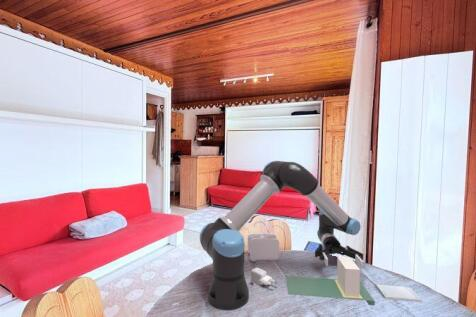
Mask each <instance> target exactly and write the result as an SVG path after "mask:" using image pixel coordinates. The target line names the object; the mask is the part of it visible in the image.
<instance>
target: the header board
mask: <svg viewBox="0 0 476 317" xmlns="http://www.w3.org/2000/svg"><path fill="white" fill-rule="evenodd" d="M285 282H286V288H287V289H286V290H287V294H288V295H294V296H303V297H304V296H306V297H316V298H317V297H319V298H332V299H342V300H343V299H344V300H354V301H355V300H356V301H357V300H358V301H365V302H366V303H367V305H370V306H375V303H376V301H375V299H374V298H373V296H372V295H371V293H370V292H369V291H368V290H367V288H366V287H365V285H364V283H363V282H362V281H361V280H360V297H354V296H345V295H344V293H343V291H342V289H341V287H340V286H339V284H338V282H337V278H324V277H322V278H321V277H307V276H294V275H293V276H292V275H285Z"/></svg>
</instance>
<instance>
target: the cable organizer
mask: <svg viewBox="0 0 476 317" xmlns="http://www.w3.org/2000/svg"><path fill="white" fill-rule="evenodd" d="M247 253H248V254H249V253H250V254H249V258H250V260H251V261H252V262H254V263H256V262H257V261H258V260H259V261H273V262H278V261H279V259H280V241H279V239H278V238H277V236H276V234H275V233H274V232H249V233H248V234H247Z"/></svg>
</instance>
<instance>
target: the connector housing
mask: <svg viewBox="0 0 476 317" xmlns="http://www.w3.org/2000/svg"><path fill="white" fill-rule="evenodd" d="M358 266H359V265H358V264H356V262H355V260H354V259H353V258H351V257H348V256H337V258H336V267H337V268H336V279H337V282H338V284H339V286H340V287H341V289H342V291H343V293H344V295H345V296H354V297H360V281H361V269H360V268H359V267H358Z"/></svg>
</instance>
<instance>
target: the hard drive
mask: <svg viewBox="0 0 476 317" xmlns="http://www.w3.org/2000/svg"><path fill="white" fill-rule="evenodd" d="M374 287H375V288H376V289H377V291H378V292H379V293H380V294H381V296H382V297H383V298H384V300H391V301H394V300H395V301H404V302H413V301H416V302H415V303H422V302H423V300H422V299H421V296H419V295H418V294H417V293H416V292H415V291H414V290H413V289H412V288H411V287H408V286H407V287H406V286H398V285H384V284H375V286H374Z"/></svg>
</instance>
